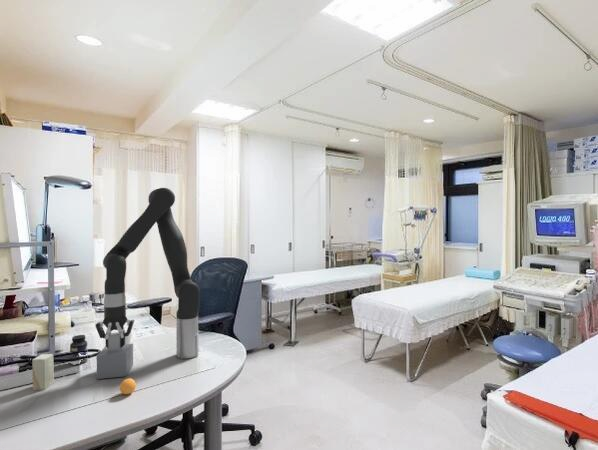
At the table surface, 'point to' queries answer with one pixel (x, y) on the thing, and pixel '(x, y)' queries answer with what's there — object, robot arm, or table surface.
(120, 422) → the table surface
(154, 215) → the robot arm
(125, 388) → the ball
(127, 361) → the grey stepped block
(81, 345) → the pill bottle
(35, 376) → the box
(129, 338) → the cup
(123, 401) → the table surface
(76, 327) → the table surface
